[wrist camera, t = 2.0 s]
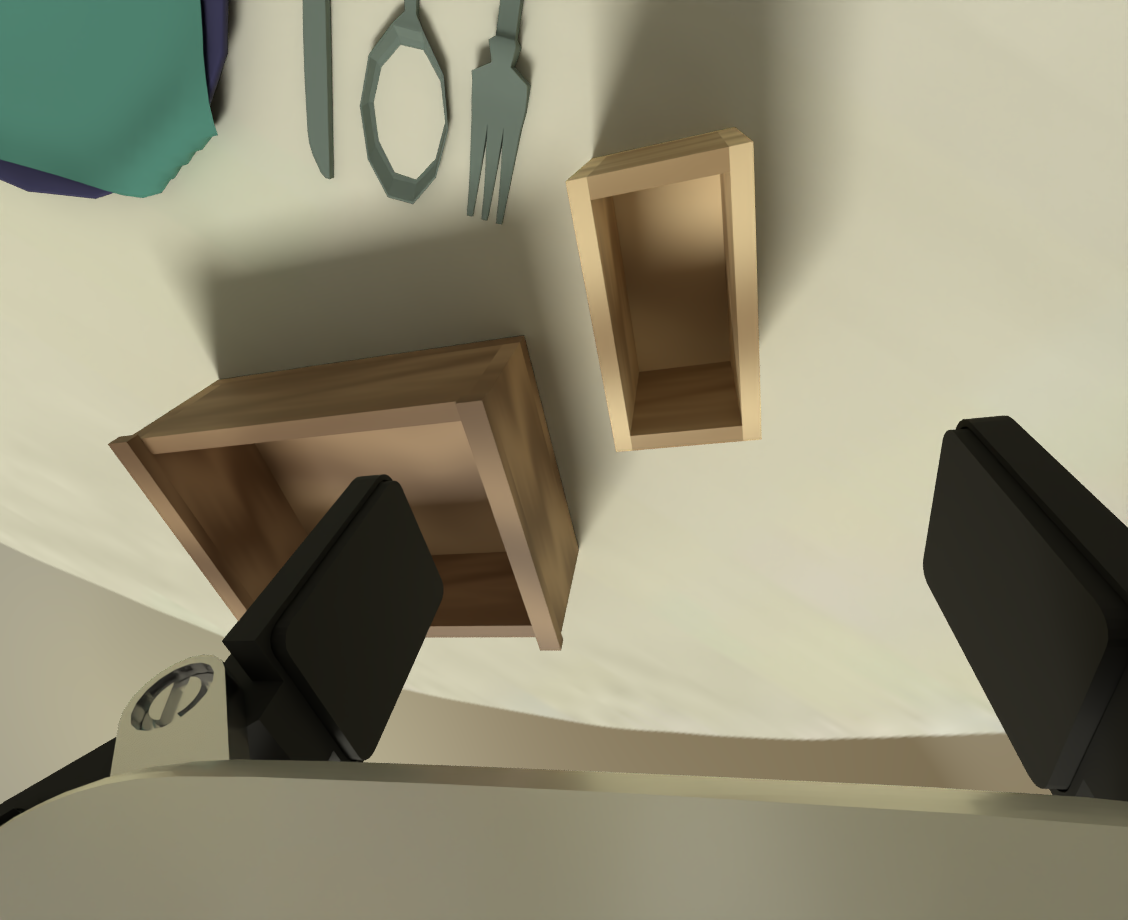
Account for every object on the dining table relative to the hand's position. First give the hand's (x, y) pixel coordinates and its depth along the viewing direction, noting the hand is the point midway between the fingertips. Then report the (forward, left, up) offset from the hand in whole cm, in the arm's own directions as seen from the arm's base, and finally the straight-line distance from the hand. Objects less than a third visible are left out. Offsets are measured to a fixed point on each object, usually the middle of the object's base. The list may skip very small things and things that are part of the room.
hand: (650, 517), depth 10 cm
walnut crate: (+8, -15, -15) cm, 22 cm away
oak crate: (0, 0, -15) cm, 15 cm away
